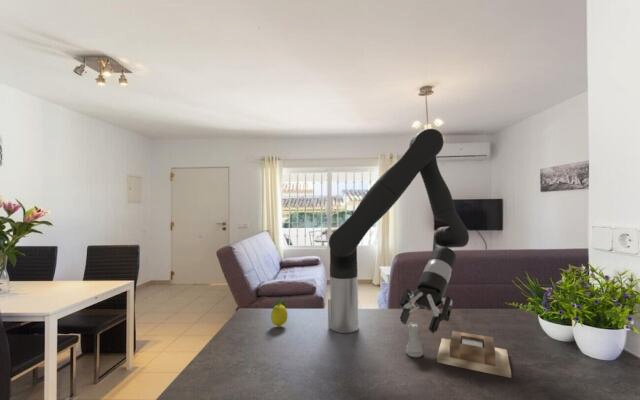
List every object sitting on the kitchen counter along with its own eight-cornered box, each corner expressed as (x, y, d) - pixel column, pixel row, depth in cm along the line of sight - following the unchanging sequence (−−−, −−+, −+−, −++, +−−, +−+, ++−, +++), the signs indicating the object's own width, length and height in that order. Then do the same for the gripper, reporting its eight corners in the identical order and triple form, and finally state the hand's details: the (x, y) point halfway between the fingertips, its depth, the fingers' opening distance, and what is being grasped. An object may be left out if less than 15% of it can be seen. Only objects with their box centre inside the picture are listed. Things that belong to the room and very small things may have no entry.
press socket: (437, 362, 76) (436, 344, 76) (442, 343, 86) (441, 327, 87) (511, 378, 68) (510, 358, 68) (506, 355, 79) (506, 338, 79)
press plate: (461, 348, 76) (461, 345, 76) (462, 341, 81) (462, 338, 81) (482, 352, 74) (482, 349, 74) (482, 344, 78) (482, 341, 78)
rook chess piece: (424, 358, 78) (423, 327, 78) (406, 357, 79) (405, 326, 79) (421, 350, 82) (421, 321, 82) (405, 349, 83) (404, 320, 83)
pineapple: (272, 332, 96) (272, 301, 96) (266, 326, 101) (266, 296, 101) (291, 328, 99) (291, 298, 100) (285, 322, 104) (284, 293, 105)
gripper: (409, 267, 93) (388, 313, 85) (454, 274, 83) (436, 327, 75) (418, 281, 97) (399, 327, 88) (463, 289, 86) (446, 342, 78)
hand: (416, 327), depth 81 cm, fingers open, 8 cm apart
